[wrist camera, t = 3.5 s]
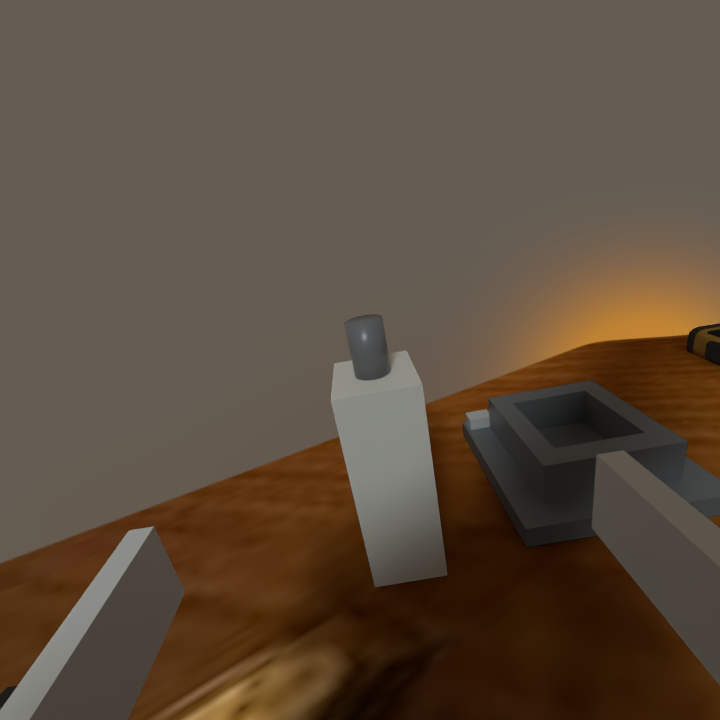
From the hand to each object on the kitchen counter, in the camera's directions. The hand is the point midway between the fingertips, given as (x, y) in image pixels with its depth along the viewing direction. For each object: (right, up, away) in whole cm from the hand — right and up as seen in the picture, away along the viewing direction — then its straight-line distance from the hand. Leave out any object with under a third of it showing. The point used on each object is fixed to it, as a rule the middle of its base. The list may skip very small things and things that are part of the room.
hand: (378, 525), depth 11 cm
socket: (+16, -3, +18) cm, 24 cm away
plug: (+3, -8, +14) cm, 16 cm away
